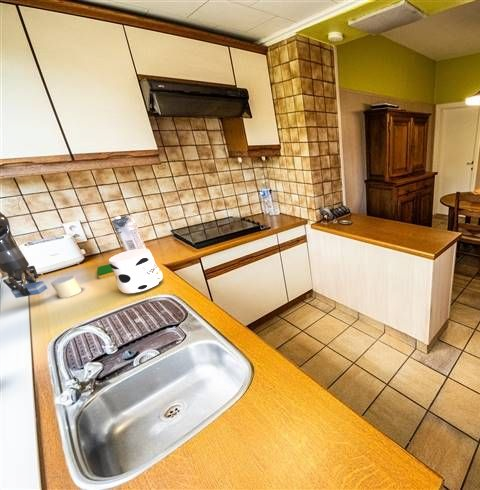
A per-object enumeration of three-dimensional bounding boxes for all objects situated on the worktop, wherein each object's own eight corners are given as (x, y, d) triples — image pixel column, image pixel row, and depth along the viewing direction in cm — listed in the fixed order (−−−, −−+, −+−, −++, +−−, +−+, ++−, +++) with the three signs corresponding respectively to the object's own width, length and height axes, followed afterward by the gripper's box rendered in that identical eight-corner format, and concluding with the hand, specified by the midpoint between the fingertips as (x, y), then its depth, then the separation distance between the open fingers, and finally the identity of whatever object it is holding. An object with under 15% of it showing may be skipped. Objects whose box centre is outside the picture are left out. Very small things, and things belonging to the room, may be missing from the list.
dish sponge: (99, 279, 142) (97, 275, 141) (99, 270, 151) (97, 267, 150) (116, 274, 147) (114, 270, 146) (115, 266, 156) (113, 262, 155)
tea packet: (15, 298, 116) (10, 290, 114) (24, 292, 120) (19, 284, 118) (40, 293, 118) (35, 286, 117) (47, 288, 123) (43, 280, 121)
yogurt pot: (55, 300, 125) (46, 285, 122) (65, 291, 132) (57, 277, 128) (76, 295, 127) (68, 281, 124) (85, 287, 134) (77, 274, 131)
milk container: (171, 283, 134) (158, 251, 127) (129, 301, 121) (112, 266, 114) (157, 275, 143) (144, 244, 136) (116, 290, 130) (99, 258, 123)
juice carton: (149, 251, 173) (132, 212, 163) (145, 257, 165) (128, 216, 154) (132, 255, 170) (114, 215, 159) (128, 261, 161) (108, 219, 150)
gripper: (11, 253, 117) (32, 286, 124) (-18, 267, 105) (7, 303, 112) (33, 250, 120) (53, 282, 126) (8, 264, 107) (31, 298, 114)
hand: (31, 292), depth 119 cm, fingers closed on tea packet, 5 cm apart
